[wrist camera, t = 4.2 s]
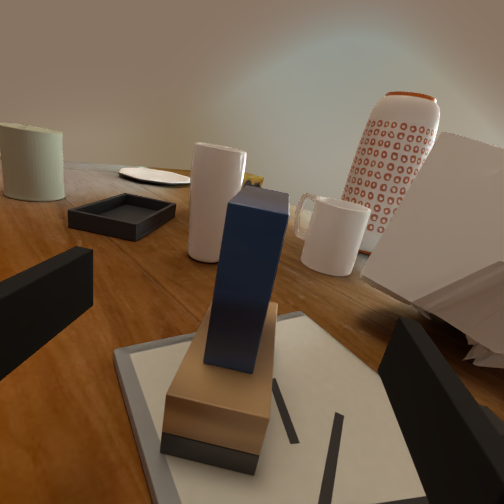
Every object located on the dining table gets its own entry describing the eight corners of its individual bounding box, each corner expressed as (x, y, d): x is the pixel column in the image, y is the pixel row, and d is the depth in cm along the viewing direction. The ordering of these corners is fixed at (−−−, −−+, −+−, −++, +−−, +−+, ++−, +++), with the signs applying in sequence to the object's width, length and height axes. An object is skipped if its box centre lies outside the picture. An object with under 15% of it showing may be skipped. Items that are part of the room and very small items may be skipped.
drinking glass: (206, 271, 39) (224, 149, 34) (171, 252, 42) (182, 139, 37) (239, 260, 44) (258, 153, 39) (205, 244, 48) (219, 144, 43)
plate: (124, 170, 97) (124, 165, 96) (187, 179, 102) (188, 174, 102) (114, 180, 79) (114, 175, 79) (191, 191, 85) (192, 185, 84)
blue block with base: (254, 476, 15) (319, 235, 11) (159, 453, 16) (185, 207, 11) (268, 343, 26) (304, 191, 21) (210, 330, 26) (235, 177, 22)
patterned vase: (318, 241, 61) (360, 85, 52) (343, 232, 72) (383, 101, 62) (385, 266, 54) (448, 90, 44) (402, 252, 64) (457, 108, 55)
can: (-8, 197, 50) (-17, 119, 46) (17, 186, 59) (11, 119, 55) (56, 204, 53) (52, 130, 49) (71, 193, 61) (69, 129, 57)
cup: (300, 244, 57) (314, 191, 54) (360, 270, 50) (380, 210, 46) (272, 250, 51) (285, 190, 48) (335, 280, 44) (355, 213, 40)
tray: (135, 241, 44) (136, 224, 43) (68, 227, 44) (67, 209, 43) (175, 216, 59) (176, 203, 58) (124, 206, 60) (124, 192, 59)
